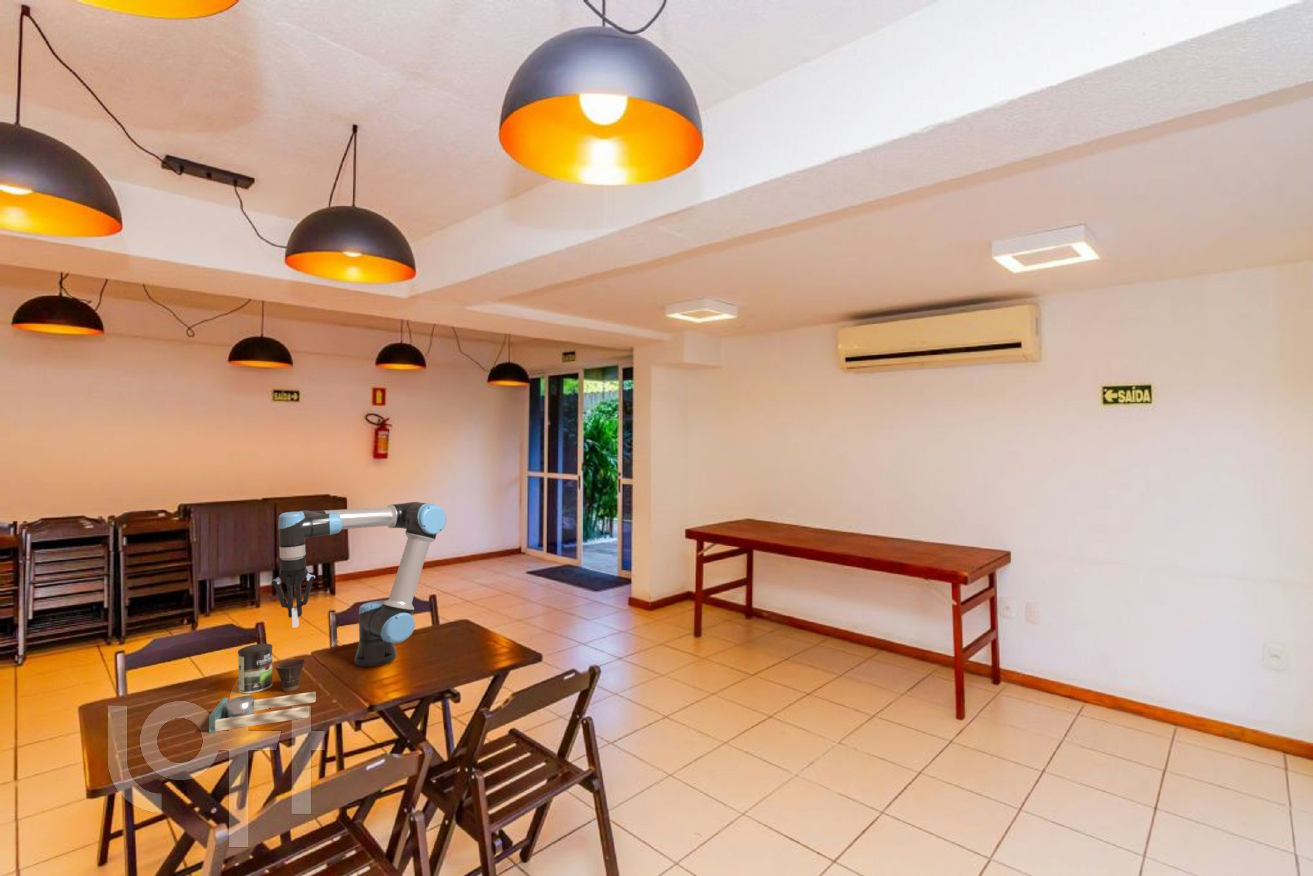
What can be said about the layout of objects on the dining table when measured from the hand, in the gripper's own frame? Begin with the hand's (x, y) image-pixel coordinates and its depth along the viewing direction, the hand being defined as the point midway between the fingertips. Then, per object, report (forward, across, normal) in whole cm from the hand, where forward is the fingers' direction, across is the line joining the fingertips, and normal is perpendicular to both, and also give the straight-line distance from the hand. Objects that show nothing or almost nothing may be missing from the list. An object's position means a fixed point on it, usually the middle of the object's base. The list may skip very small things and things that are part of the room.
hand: (295, 626), depth 204 cm
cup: (+25, +4, -10) cm, 27 cm away
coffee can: (+25, +16, -16) cm, 34 cm away
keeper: (+25, +14, +10) cm, 30 cm away
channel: (+25, +7, +10) cm, 28 cm away
